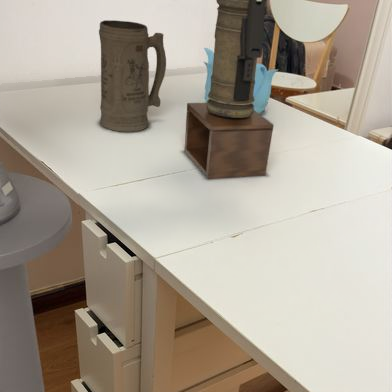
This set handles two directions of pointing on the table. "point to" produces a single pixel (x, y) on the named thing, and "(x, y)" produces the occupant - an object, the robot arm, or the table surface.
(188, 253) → the table surface
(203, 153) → the shelf
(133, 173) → the table surface
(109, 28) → the beer stein
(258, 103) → the teapot
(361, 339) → the table surface
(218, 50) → the container
